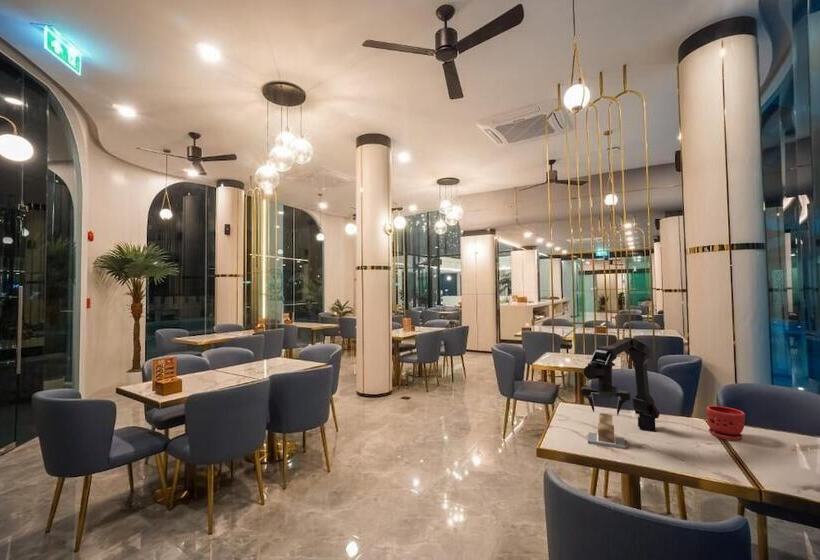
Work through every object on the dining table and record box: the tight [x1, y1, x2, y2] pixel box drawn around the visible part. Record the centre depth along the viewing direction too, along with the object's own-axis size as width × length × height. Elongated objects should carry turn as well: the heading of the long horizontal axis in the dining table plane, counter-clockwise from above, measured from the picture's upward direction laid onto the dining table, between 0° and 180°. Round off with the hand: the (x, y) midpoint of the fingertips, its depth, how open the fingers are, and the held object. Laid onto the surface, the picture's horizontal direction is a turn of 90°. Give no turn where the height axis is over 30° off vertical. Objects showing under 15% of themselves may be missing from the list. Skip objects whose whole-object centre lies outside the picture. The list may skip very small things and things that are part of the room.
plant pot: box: [706, 405, 746, 441], centre depth 170 cm, size 13×13×12 cm
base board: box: [587, 431, 626, 450], centre depth 166 cm, size 14×11×1 cm
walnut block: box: [597, 422, 615, 443], centre depth 166 cm, size 6×8×5 cm
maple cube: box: [598, 412, 614, 430], centre depth 166 cm, size 5×5×5 cm
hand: (605, 413), depth 166 cm, fingers open, 9 cm apart
